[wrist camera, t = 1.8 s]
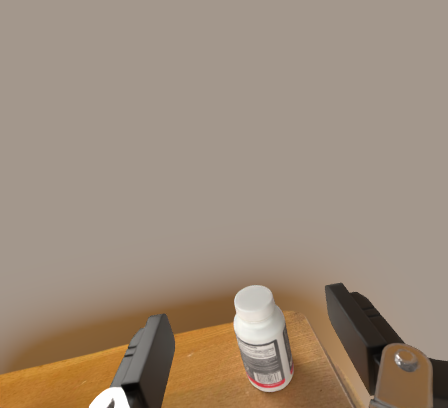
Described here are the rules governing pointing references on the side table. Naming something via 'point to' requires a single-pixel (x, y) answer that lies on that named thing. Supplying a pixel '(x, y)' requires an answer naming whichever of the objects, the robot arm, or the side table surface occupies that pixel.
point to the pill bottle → (263, 339)
